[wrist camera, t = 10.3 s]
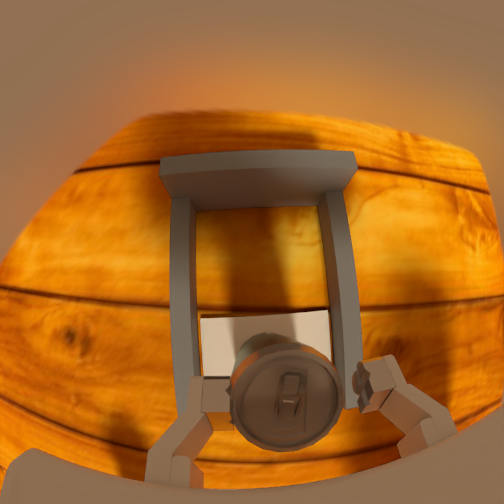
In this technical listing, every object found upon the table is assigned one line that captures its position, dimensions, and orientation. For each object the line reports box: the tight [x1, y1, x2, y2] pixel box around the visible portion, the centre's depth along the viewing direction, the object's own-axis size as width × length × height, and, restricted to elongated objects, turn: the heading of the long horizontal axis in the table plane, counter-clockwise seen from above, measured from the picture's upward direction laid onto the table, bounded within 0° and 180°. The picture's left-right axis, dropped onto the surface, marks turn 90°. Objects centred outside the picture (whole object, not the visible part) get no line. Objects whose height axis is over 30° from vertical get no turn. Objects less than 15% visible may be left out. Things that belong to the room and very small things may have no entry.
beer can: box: [231, 332, 344, 452], centre depth 16 cm, size 5×5×12 cm
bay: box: [159, 150, 363, 417], centre depth 20 cm, size 15×20×7 cm
